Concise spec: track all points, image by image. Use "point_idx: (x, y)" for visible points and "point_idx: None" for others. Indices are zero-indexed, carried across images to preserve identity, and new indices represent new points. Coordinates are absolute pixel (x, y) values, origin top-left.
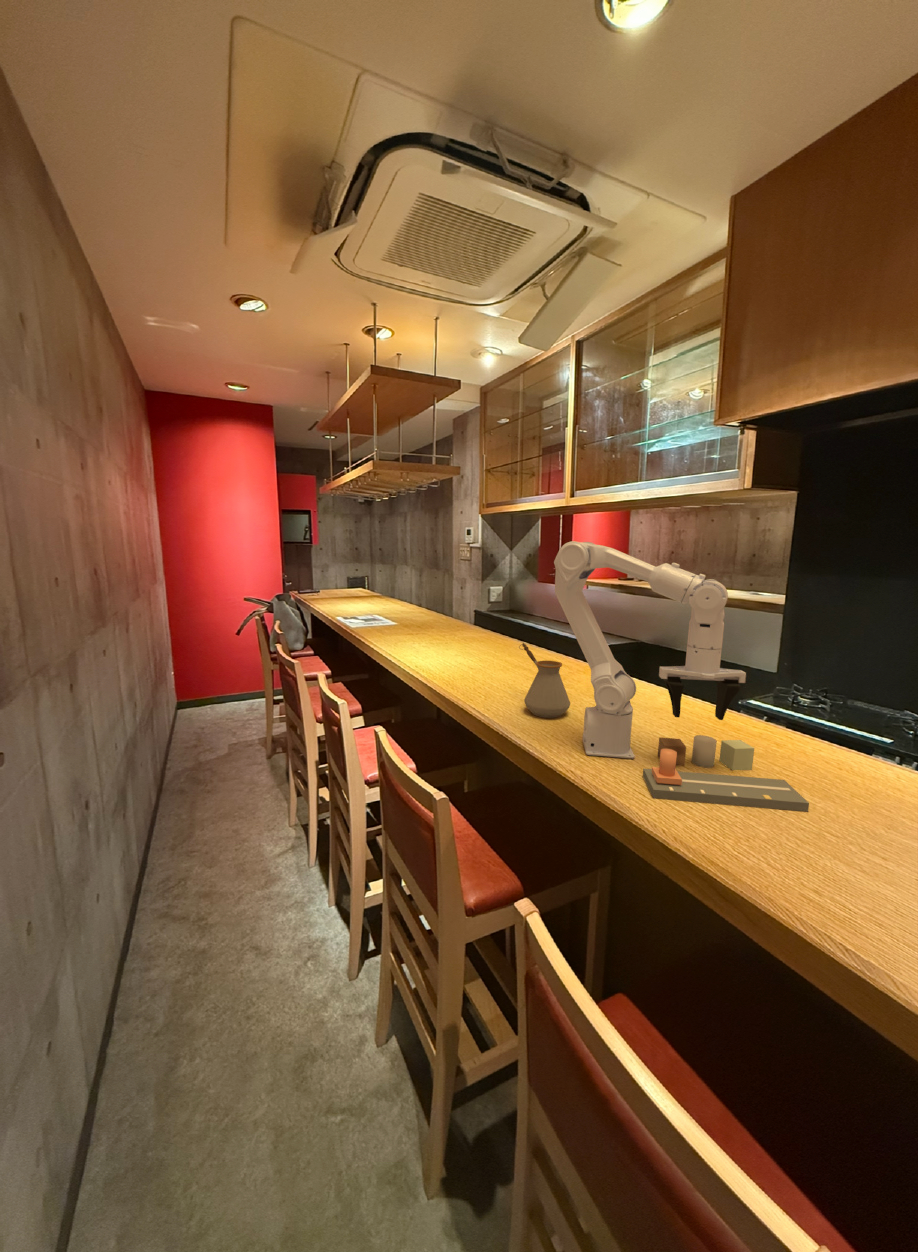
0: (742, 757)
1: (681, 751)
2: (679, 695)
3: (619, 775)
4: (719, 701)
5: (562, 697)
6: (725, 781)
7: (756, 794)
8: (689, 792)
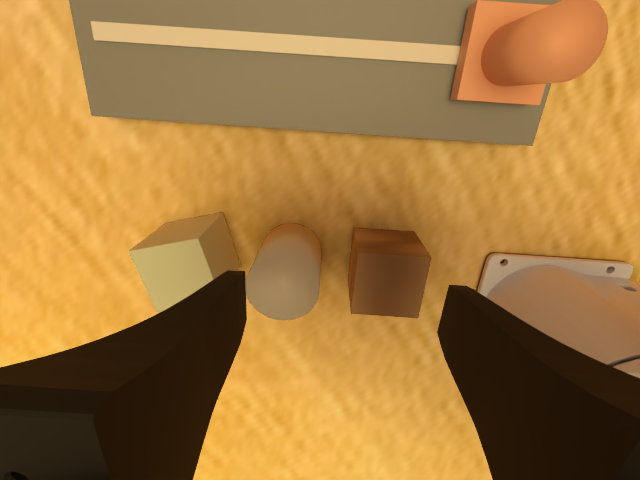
0: (181, 232)
1: (370, 246)
2: (559, 364)
3: (592, 138)
4: (212, 367)
5: None
6: (289, 75)
7: None
8: None
